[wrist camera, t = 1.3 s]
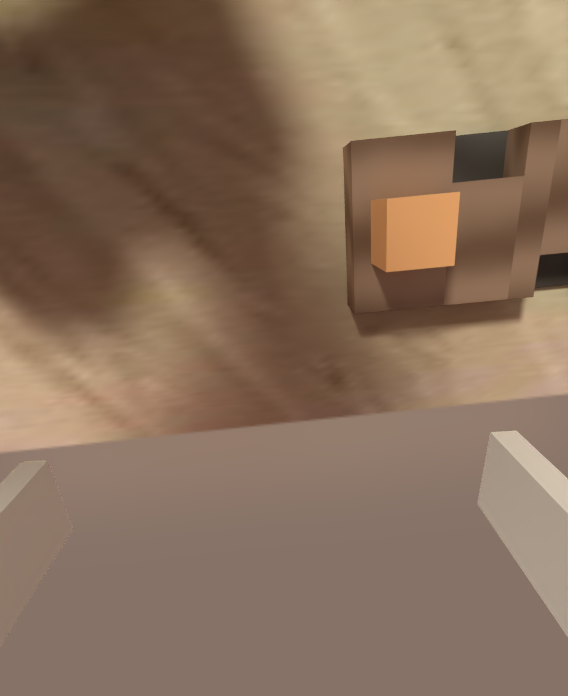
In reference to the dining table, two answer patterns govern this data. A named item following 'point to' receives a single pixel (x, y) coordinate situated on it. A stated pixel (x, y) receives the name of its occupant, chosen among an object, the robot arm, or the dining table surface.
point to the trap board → (464, 214)
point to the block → (414, 231)
